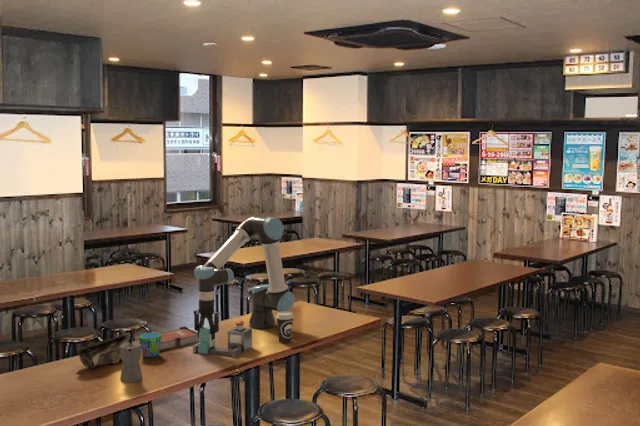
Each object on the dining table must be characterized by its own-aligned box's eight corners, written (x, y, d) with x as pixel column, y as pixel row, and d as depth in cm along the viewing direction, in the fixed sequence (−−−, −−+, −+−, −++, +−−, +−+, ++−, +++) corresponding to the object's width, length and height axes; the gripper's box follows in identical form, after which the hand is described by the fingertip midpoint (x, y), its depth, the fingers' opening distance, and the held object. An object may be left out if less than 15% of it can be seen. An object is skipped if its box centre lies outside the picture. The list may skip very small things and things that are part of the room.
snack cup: (138, 352, 321) (137, 331, 320) (160, 349, 324) (159, 329, 323) (140, 361, 306) (140, 340, 305) (163, 359, 310) (163, 338, 309)
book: (155, 353, 321) (155, 343, 320) (139, 344, 334) (139, 335, 334) (201, 342, 338) (201, 333, 337) (184, 335, 351) (184, 326, 351)
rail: (200, 348, 327) (199, 342, 327) (241, 353, 319) (241, 346, 319) (192, 352, 320) (192, 346, 320) (234, 357, 313) (234, 351, 312)
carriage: (206, 348, 326) (206, 325, 325) (215, 349, 325) (214, 326, 323) (198, 352, 319) (197, 329, 318) (207, 354, 317) (206, 330, 316)
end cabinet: (236, 345, 331) (235, 326, 330) (252, 347, 328) (251, 328, 327) (227, 351, 323) (227, 331, 322) (243, 352, 320) (243, 333, 319)
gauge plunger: (238, 332, 327) (238, 320, 327) (245, 333, 326) (245, 321, 325) (234, 335, 324) (234, 322, 323) (241, 335, 322) (241, 323, 322)
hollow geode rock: (80, 382, 293) (91, 363, 285) (67, 359, 297) (79, 340, 289) (132, 364, 314) (144, 346, 307) (120, 343, 319) (132, 325, 311)
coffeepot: (141, 383, 278) (140, 342, 276) (118, 385, 276) (117, 343, 274) (143, 371, 293) (142, 332, 291) (121, 373, 291) (120, 333, 289)
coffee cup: (295, 339, 343) (295, 311, 342) (292, 344, 334) (292, 315, 332) (277, 338, 344) (277, 310, 343) (274, 343, 335) (274, 315, 333)
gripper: (186, 298, 319) (186, 345, 321) (219, 302, 312) (218, 349, 315) (194, 295, 326) (194, 341, 328) (226, 299, 319) (226, 345, 322)
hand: (206, 345), depth 321 cm, fingers closed on carriage, 5 cm apart
